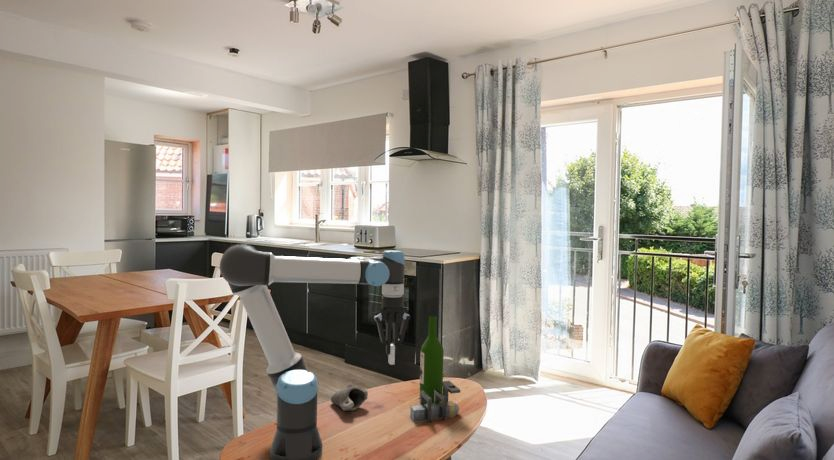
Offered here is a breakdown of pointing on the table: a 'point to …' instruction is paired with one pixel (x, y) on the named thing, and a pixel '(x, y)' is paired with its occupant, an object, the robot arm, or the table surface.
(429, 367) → the wine bottle
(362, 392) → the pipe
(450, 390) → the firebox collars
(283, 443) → the robot arm
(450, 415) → the grey sharpening stone
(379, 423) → the table surface
